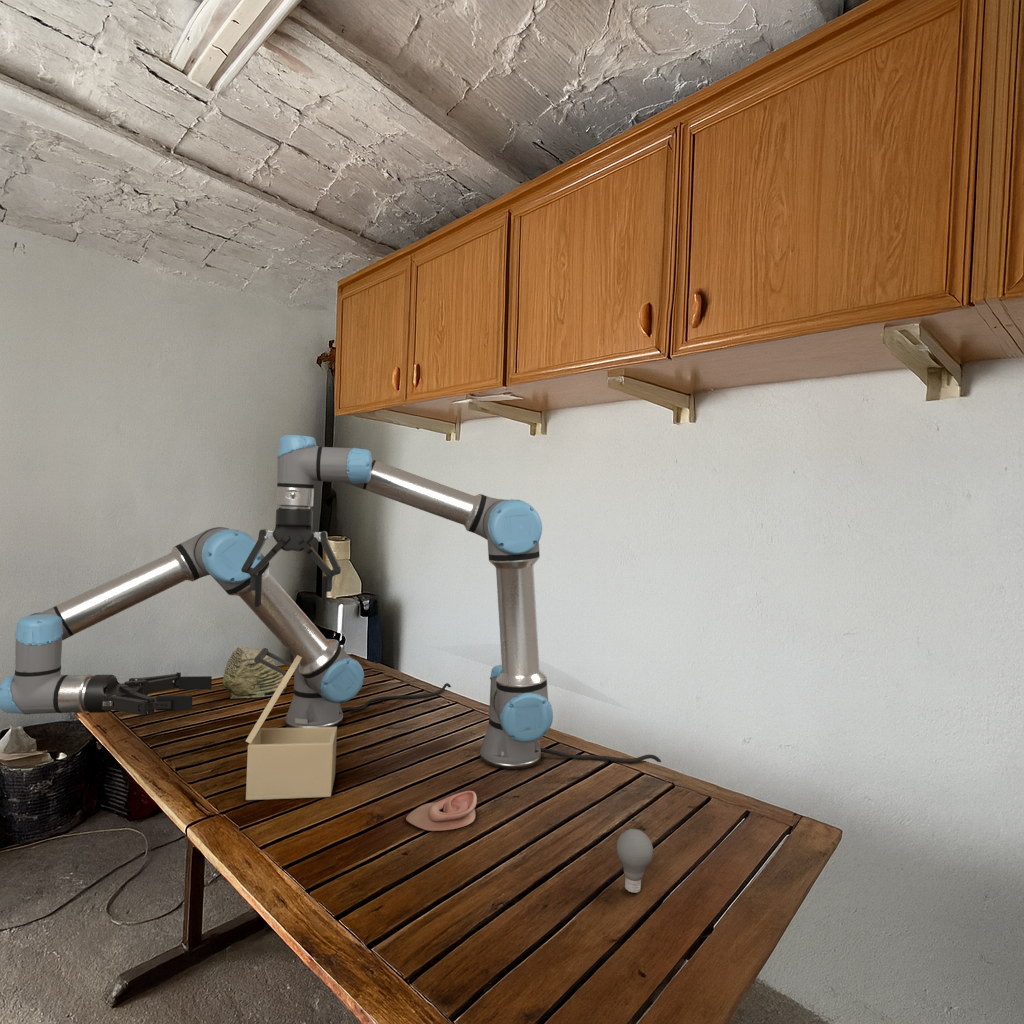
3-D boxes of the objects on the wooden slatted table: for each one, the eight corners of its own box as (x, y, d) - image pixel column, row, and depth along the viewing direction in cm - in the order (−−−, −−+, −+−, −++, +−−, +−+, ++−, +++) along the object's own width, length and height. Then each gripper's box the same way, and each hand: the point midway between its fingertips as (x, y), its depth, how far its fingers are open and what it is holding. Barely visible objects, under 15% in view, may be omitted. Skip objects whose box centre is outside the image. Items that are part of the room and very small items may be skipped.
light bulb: (610, 879, 108) (613, 822, 108) (644, 879, 109) (647, 822, 109) (619, 902, 102) (622, 840, 102) (655, 901, 103) (658, 840, 103)
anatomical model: (400, 806, 123) (421, 781, 134) (399, 826, 123) (420, 799, 134) (466, 816, 120) (481, 789, 131) (465, 836, 120) (481, 808, 131)
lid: (302, 657, 142) (268, 639, 140) (295, 669, 132) (258, 650, 130) (260, 726, 141) (225, 709, 139) (250, 744, 131) (213, 725, 129)
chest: (335, 776, 144) (337, 726, 144) (330, 796, 134) (332, 743, 134) (256, 778, 141) (258, 728, 140) (245, 800, 131) (247, 745, 131)
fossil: (218, 695, 195) (220, 647, 195) (278, 685, 208) (279, 640, 207) (228, 703, 189) (230, 653, 188) (289, 692, 201) (290, 645, 201)
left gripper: (116, 693, 142) (217, 691, 146) (58, 734, 117) (181, 731, 121) (117, 659, 142) (218, 659, 146) (59, 694, 117) (183, 692, 121)
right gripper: (228, 505, 130) (224, 608, 130) (353, 510, 135) (349, 610, 135) (237, 505, 137) (233, 602, 138) (355, 509, 142) (351, 604, 142)
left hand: (202, 692), depth 133 cm, fingers open, 13 cm apart
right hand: (291, 606), depth 136 cm, fingers open, 13 cm apart
